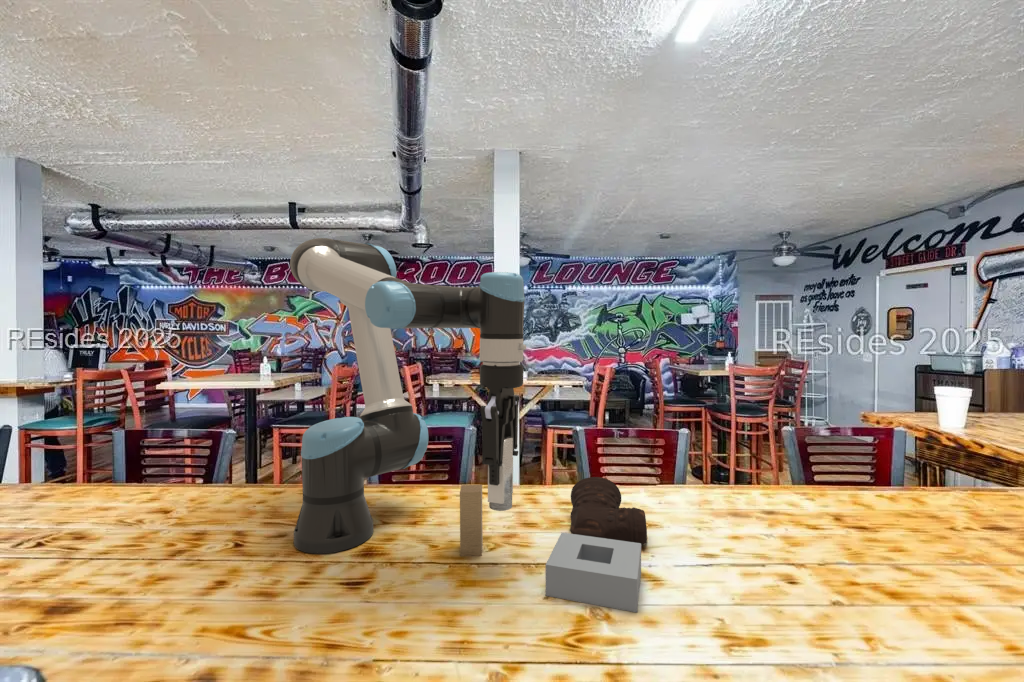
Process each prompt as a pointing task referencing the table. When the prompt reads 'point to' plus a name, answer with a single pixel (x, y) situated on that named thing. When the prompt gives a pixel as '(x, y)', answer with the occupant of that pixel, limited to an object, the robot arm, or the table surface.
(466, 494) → the square bit
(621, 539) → the pipe
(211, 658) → the table surface
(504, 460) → the cylinder
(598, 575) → the socket block
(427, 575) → the table surface
